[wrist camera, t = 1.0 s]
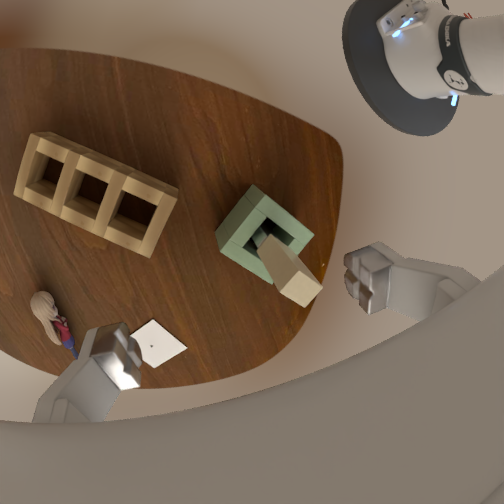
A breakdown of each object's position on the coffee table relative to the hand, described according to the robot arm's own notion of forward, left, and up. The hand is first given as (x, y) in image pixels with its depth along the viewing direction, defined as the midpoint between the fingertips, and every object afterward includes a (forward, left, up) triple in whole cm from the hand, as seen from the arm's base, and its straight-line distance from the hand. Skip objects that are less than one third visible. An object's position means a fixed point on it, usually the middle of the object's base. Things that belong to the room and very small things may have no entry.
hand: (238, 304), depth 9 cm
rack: (+6, -11, -26) cm, 29 cm away
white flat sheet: (+27, +4, -26) cm, 38 cm away
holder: (+2, +9, -26) cm, 28 cm away
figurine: (+30, -12, -26) cm, 42 cm away
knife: (+2, +9, -26) cm, 28 cm away
